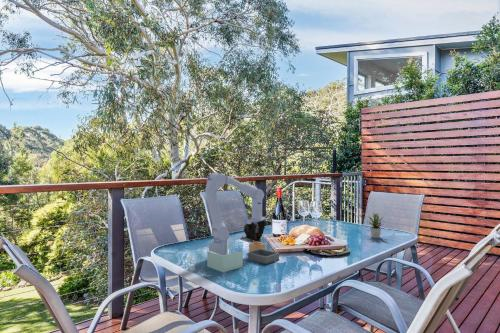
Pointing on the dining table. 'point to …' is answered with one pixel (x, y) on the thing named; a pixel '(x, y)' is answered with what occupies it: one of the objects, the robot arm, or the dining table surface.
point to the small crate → (256, 246)
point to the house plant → (375, 226)
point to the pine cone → (257, 235)
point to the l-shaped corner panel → (224, 261)
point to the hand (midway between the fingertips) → (256, 235)
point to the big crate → (263, 256)
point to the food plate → (332, 252)
